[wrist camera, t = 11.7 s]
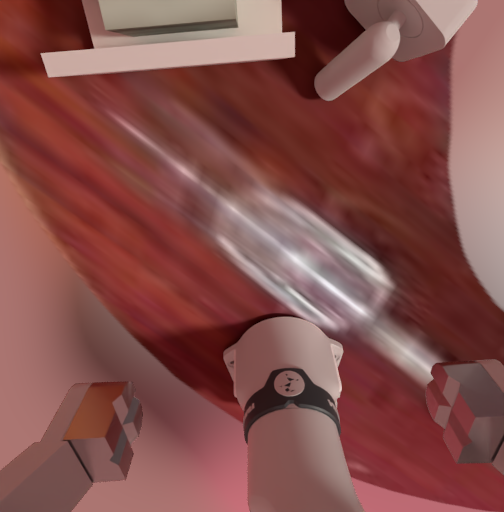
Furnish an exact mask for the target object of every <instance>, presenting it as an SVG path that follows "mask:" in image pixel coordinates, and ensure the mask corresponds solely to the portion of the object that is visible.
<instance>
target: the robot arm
mask: <svg viewBox="0 0 504 512" xmlns="http://www.w3.org/2000/svg"><path fill="white" fill-rule="evenodd" d="M342 354H343V347H342V345H341V344H340V343H339V342H337V341H335V340H332V339H330V338H328V337H327V336H326V335H325V334H324V333H323V332H322V331H321V330H320V329H319V328H318V327H317V326H315V325H314V324H312V323H310V322H308V321H306V320H303V319H300V318H295V317H276V318H271V319H267V320H264V321H261V322H259V323H257V324H255V325H254V326H252V327H251V328H249V329H248V330H247V331H246V332H245V333H244V334H243V336H242V337H241V338H240V340H239V341H238V342H237V343H236V344H234V345H232V346H231V347H229V348H227V349H226V350H225V351H224V353H223V359H224V362H225V364H226V366H227V368H228V371H229V373H230V375H231V377H232V380H233V382H234V396H235V397H236V398H237V399H238V402H239V404H240V406H241V407H242V409H243V411H244V419H243V427H244V436H245V441H246V443H247V445H248V506H249V510H250V512H365V511H364V509H363V507H362V505H361V503H360V501H359V499H358V497H357V494H356V492H355V489H354V486H353V483H352V480H351V477H350V474H349V470H348V467H347V464H346V460H345V457H344V453H343V449H342V446H341V442H340V438H339V437H340V433H341V428H340V421H339V420H340V419H339V414H338V411H337V409H336V408H337V398H340V391H341V390H342V387H341V382H340V377H339V373H338V365H339V363H340V360H341V357H342ZM431 375H432V376H433V378H434V379H433V380H432V381H431V382H430V383H428V384H427V388H426V402H427V406H428V409H429V412H430V414H431V416H432V418H433V420H434V421H435V422H436V423H438V424H439V425H440V426H442V427H443V428H444V433H443V439H444V441H445V443H446V444H447V446H448V448H449V450H450V452H451V454H452V456H453V458H454V460H455V461H456V463H492V465H493V466H494V467H495V468H496V469H497V470H499V471H500V472H501V473H502V474H503V475H504V366H503V365H502V364H501V363H500V362H499V361H497V360H495V359H494V360H477V361H458V362H444V363H436V364H434V365H433V366H432V370H431ZM134 393H135V387H134V385H133V382H101V383H78V384H74V385H73V386H72V387H71V388H70V389H69V391H68V393H67V395H66V396H65V398H64V400H63V402H62V403H61V405H60V407H59V409H58V411H57V412H56V414H55V416H54V418H53V420H52V421H51V423H50V425H49V427H48V429H47V430H46V432H45V434H44V436H43V438H42V440H41V441H40V442H36V443H33V444H32V445H31V446H30V447H28V448H27V449H26V450H25V451H23V452H22V453H21V454H20V455H19V456H17V457H16V458H15V459H14V460H13V461H11V462H10V463H9V464H8V465H7V466H5V467H4V468H3V469H2V470H1V471H0V512H71V511H72V510H73V509H74V507H75V506H76V505H77V504H78V502H79V501H80V500H81V499H82V498H83V496H84V495H85V494H86V493H87V491H88V490H89V489H90V488H91V487H92V485H93V484H92V483H95V482H107V481H120V480H126V477H127V474H128V471H129V467H130V464H131V460H132V457H133V451H132V448H131V444H132V443H133V442H134V441H135V440H136V439H137V438H138V437H139V434H140V430H141V426H142V416H143V413H142V406H141V403H140V401H139V400H138V399H136V398H135V397H134Z"/></svg>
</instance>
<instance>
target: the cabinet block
mask: <svg viewBox="0 0 504 512" xmlns="http://www.w3.org/2000/svg"><path fill="white" fill-rule="evenodd" d="M98 1H99V5H100V10H101V14H102V18H103V22H104V26H105V30H107V31H111V32H115V33H119V34H123V35H127V36H132V37H137V36H149V35H160V34H171V33H183V32H194V31H206V30H217V29H229V28H238V16H237V3H236V0H98Z"/></svg>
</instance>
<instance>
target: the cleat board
mask: <svg viewBox="0 0 504 512" xmlns="http://www.w3.org/2000/svg"><path fill="white" fill-rule="evenodd" d="M82 3H83V7H84V11H85V15H86V19H87V22H88V26H89V30H90V34H91V38H92V42H93V45H94V49H86V50H75V51H63V52H51V53H41V56H42V59H43V62H44V65H45V69H46V72H47V75H48V77H62V76H78V75H94V74H109V73H122V72H134V71H146V70H158V69H170V68H182V67H194V66H206V65H218V64H230V63H242V62H254V61H266V60H278V59H286V58H291V57H295V32H286V33H282V7H281V0H236V3H237V16H238V28H229V29H217V30H206V31H194V32H183V33H171V34H160V35H149V36H137V37H132V36H127V35H123V34H119V33H115V32H111V31H107V30H105V26H104V22H103V18H102V14H101V10H100V5H99V1H98V0H82Z"/></svg>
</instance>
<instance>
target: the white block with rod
mask: <svg viewBox="0 0 504 512" xmlns="http://www.w3.org/2000/svg"><path fill="white" fill-rule="evenodd" d="M344 1H345V5H346V7H347V9H348V10H349V12H350V13H351V14H352V15H353V16H354V17H355V19H356V20H357V21H358V22H359V23H360V24H361V25H362V26H363V27H364V29H365V30H366V31H364V32H363V33H362V34H361V35H360V36H359V37H358V38H357V39H355V40H354V41H353V42H352V43H351V44H350V45H349V46H348V47H347V48H345V49H344V50H343V51H342V52H341V53H340V54H339V55H338V56H337V57H335V58H334V59H333V60H332V61H331V62H330V63H329V64H328V65H326V66H325V67H324V68H323V69H322V70H321V71H320V72H319V73H318V74H317V75H316V77H315V81H314V85H315V89H316V92H317V93H318V95H319V96H320V97H321V98H322V99H324V100H327V101H331V100H334V99H335V98H337V97H338V96H339V95H341V94H342V93H344V92H345V91H347V90H348V89H349V88H351V87H352V86H354V85H355V84H356V83H358V82H359V81H361V80H362V79H363V78H365V77H366V76H368V75H369V74H370V73H372V72H373V71H375V70H376V69H378V68H379V67H380V66H382V65H383V64H384V63H386V62H387V61H388V60H390V59H391V58H393V59H395V60H397V61H400V62H404V61H407V60H410V59H414V58H417V57H420V56H423V55H426V54H429V53H432V52H435V51H438V50H441V49H442V48H444V46H445V45H446V44H447V43H448V41H449V40H450V39H451V38H452V36H453V35H454V34H455V33H456V32H457V30H458V29H459V28H460V27H461V25H462V24H463V23H464V22H465V20H466V19H467V18H468V17H469V16H470V14H471V13H472V12H473V11H474V9H475V8H476V6H477V3H478V0H344Z"/></svg>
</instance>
